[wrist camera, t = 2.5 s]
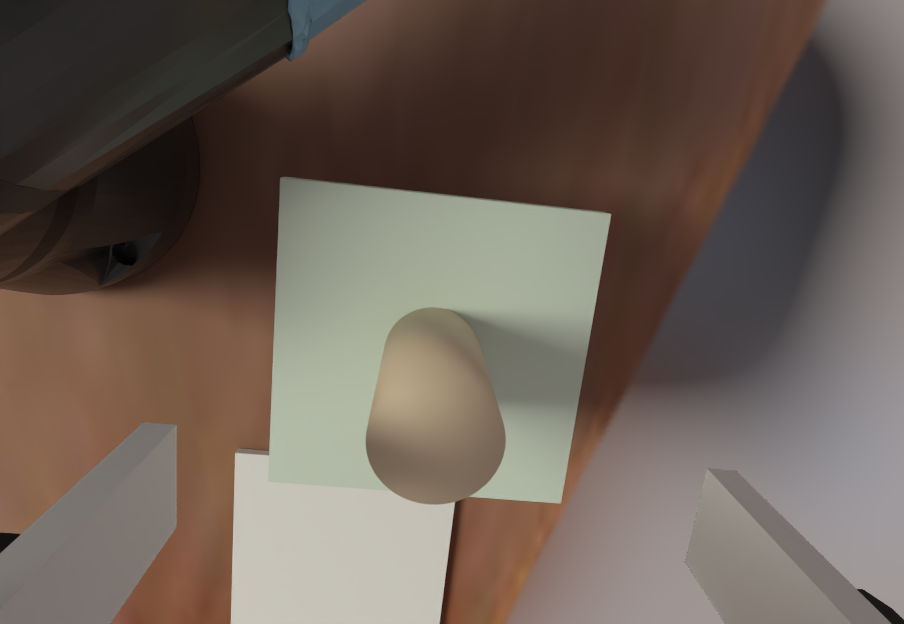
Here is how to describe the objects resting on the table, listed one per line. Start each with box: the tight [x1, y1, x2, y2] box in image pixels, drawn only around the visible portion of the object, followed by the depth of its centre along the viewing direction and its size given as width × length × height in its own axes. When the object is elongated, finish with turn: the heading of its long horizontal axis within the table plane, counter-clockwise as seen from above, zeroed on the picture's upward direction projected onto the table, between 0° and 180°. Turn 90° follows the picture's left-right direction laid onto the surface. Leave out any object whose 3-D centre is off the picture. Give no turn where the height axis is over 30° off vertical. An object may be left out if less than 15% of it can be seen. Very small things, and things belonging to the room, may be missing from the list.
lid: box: [268, 177, 611, 505], centre depth 21 cm, size 13×13×9 cm
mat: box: [231, 448, 455, 624], centre depth 39 cm, size 14×14×1 cm
